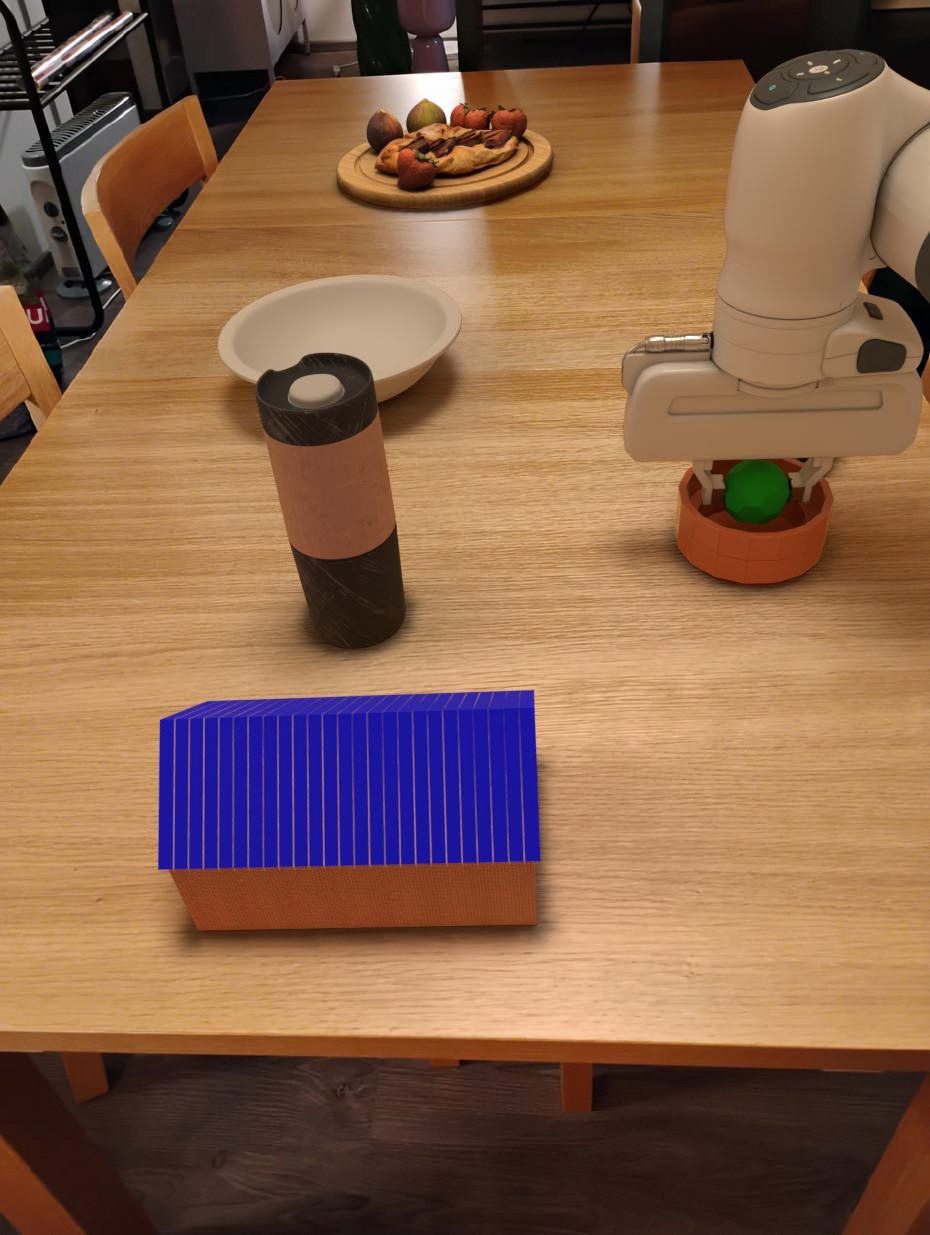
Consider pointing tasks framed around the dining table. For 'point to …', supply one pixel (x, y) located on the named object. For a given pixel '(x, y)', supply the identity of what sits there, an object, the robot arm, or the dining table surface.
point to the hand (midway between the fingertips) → (754, 499)
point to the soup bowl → (345, 328)
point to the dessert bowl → (752, 531)
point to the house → (352, 810)
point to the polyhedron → (755, 492)
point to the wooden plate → (444, 157)
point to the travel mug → (335, 495)
